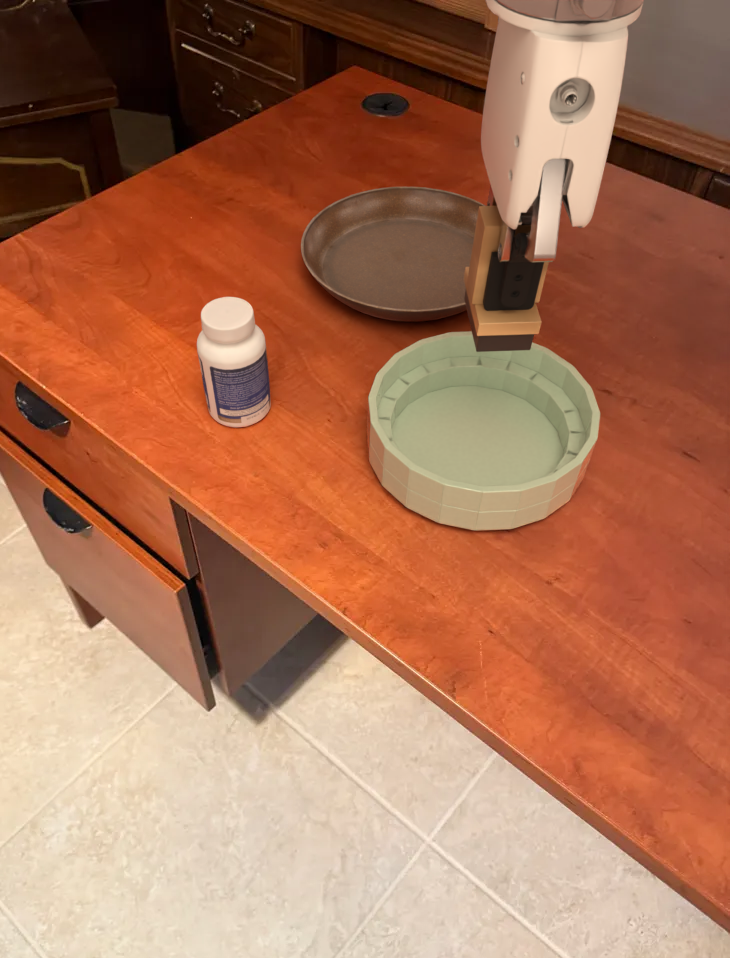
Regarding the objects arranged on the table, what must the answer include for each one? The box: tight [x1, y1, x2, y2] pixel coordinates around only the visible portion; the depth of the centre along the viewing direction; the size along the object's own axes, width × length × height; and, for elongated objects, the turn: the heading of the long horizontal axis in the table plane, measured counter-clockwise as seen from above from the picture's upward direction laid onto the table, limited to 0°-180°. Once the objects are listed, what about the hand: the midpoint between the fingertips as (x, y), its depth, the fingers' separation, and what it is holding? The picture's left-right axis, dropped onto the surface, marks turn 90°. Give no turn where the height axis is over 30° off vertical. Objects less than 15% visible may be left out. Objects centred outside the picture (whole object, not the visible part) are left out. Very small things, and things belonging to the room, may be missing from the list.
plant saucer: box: [300, 186, 487, 322], centre depth 79 cm, size 21×21×3 cm
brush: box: [464, 205, 550, 352], centre depth 53 cm, size 6×4×8 cm
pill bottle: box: [196, 296, 272, 428], centre depth 66 cm, size 5×5×10 cm
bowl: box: [366, 330, 601, 532], centre depth 64 cm, size 17×17×5 cm
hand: (503, 291), depth 54 cm, fingers closed on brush, 2 cm apart
